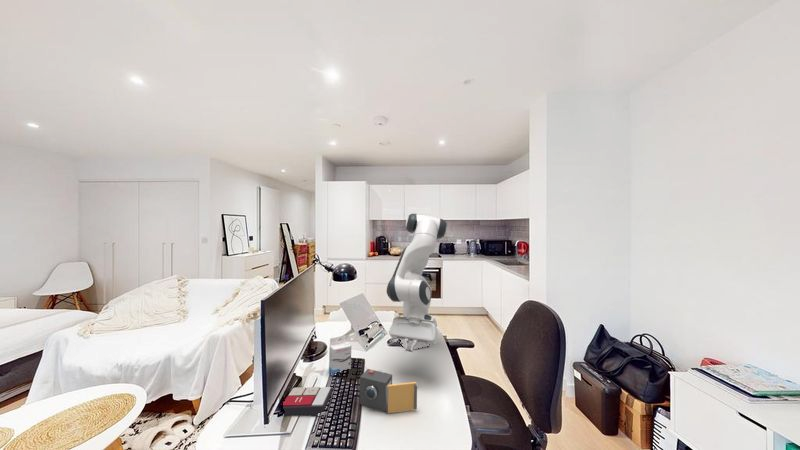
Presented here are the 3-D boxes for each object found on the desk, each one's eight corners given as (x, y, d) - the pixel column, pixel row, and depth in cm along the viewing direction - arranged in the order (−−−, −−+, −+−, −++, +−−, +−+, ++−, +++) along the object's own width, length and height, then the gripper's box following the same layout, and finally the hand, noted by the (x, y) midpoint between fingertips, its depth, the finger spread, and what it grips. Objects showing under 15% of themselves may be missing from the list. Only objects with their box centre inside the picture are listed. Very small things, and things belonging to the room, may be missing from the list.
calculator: (292, 386, 100) (332, 385, 100) (293, 397, 100) (332, 396, 100) (279, 405, 89) (323, 404, 89) (279, 418, 89) (323, 417, 89)
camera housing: (367, 395, 100) (368, 367, 101) (391, 402, 97) (392, 372, 97) (357, 407, 93) (358, 377, 94) (383, 415, 90) (383, 383, 90)
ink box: (332, 377, 112) (333, 342, 112) (328, 372, 116) (329, 338, 117) (351, 371, 117) (351, 338, 117) (347, 366, 121) (347, 334, 121)
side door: (415, 407, 93) (415, 381, 93) (416, 410, 92) (417, 384, 92) (385, 411, 91) (385, 384, 91) (385, 414, 90) (386, 387, 90)
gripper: (392, 312, 117) (382, 343, 108) (437, 317, 109) (431, 352, 100) (396, 319, 121) (387, 350, 112) (440, 324, 113) (435, 358, 104)
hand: (408, 351), depth 106 cm, fingers closed
